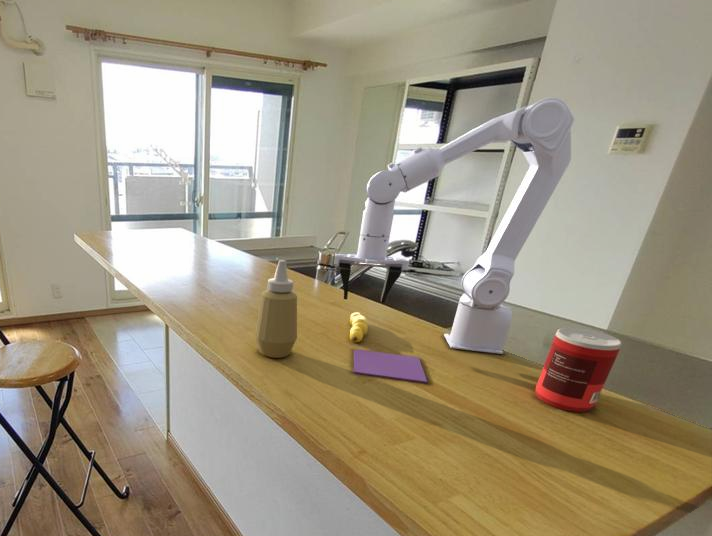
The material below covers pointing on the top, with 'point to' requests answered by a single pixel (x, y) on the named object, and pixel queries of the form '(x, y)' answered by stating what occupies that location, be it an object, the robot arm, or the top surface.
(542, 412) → the top surface
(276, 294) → the squeeze bottle
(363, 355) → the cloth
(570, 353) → the canned food
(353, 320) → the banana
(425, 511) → the top surface
